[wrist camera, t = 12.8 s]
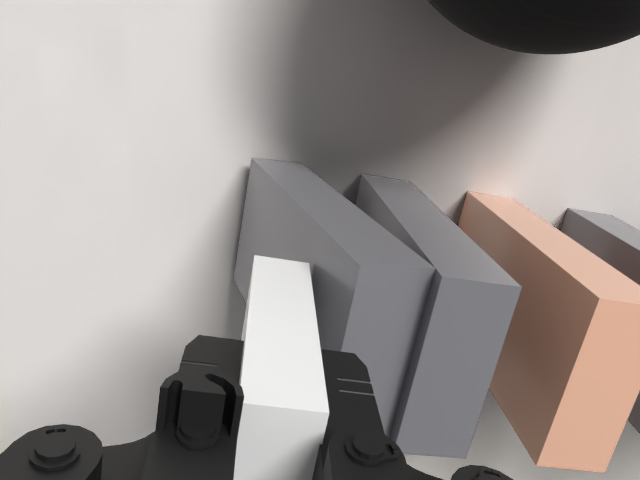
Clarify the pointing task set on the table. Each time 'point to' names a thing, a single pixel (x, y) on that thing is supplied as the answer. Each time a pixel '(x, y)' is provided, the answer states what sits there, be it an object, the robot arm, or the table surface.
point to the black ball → (545, 23)
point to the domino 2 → (444, 321)
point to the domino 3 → (560, 337)
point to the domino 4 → (608, 253)
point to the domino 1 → (339, 271)
